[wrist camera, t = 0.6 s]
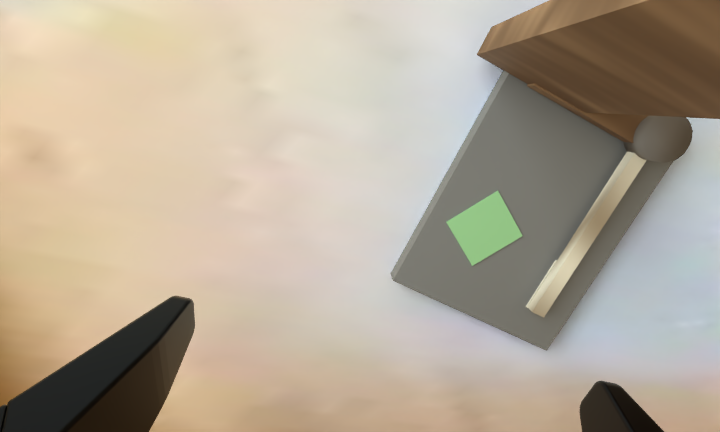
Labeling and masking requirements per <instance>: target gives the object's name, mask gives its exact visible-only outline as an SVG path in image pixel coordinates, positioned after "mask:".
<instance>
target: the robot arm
mask: <svg viewBox="0 0 720 432" xmlns="http://www.w3.org/2000/svg"><path fill="white" fill-rule="evenodd" d="M194 328H195V317H194V303H193V301H192V299H190V298H185V297H180V296H173V297H170V298H169V299H167V300H166V301H164V302H163V303H161V304H159V305H158V306H156V307H155V308H153V309H152V310H150V311H149V312H147V313H145V314H144V315H142V316H141V317H139V318H138V319H136V320H135V321H133V322H131V323H130V324H128V325H127V326H125V327H124V328H122V329H121V330H119V331H117V332H116V333H114V334H113V335H111V336H110V337H108V338H107V339H105V340H103V341H102V342H100V343H99V344H97V345H96V346H94V347H93V348H91V349H90V350H88V351H86V352H85V353H83V354H82V355H80V356H79V357H77V358H76V359H74V360H72V361H71V362H69V363H68V364H66V365H65V366H63V367H62V368H60V369H58V370H57V371H55V372H54V373H52V374H51V375H49V376H48V377H46V378H44V379H43V380H41V381H40V382H38V383H37V384H35V385H34V386H32V387H30V388H29V389H27V390H26V391H24V392H23V393H21V394H20V395H18V396H16V397H15V398H13V399H12V400H10V401H9V402H8V404H7V405H2V406H1V407H0V432H149V430H150V428H151V427H152V425H153V423H154V421H155V419H156V417H157V416H158V414H159V412H160V410H161V408H162V406H163V404H164V402H165V400H166V398H167V396H168V394H169V391H170V389H171V387H172V384H173V382H174V379H175V377H176V374H177V372H178V370H179V367H180V365H181V362H182V360H183V357H184V355H185V353H186V350H187V348H188V345H189V343H190V340H191V338H192V336H193V333H194ZM580 419H581V426H582V432H664V431H663V430H662V429H661V428H660V427H659V426H658V425H657V424H656V423H655V422H654V421H653V420H652V419H651V417H650V416H649V415H648V414H647V413H646V412H645V411H644V410H643V409H642V408H641V407H640V406H639V405H638V404H637V403H636V402H635V401H634V400H633V399H632V398H631V397H630V396H629V394H628V393H627V392H626V391H625V390H624V389H623V388H622V387H621V386H619V385H617V384H614V383H610V382H605V381H598V382H596V383H595V384H594V386H593V387H592V388H591V390H590V391H589V392H588V394H587V395H586V396H585V398H584V399H583V400H582V402H581V405H580Z"/></svg>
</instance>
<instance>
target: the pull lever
mask: <svg viewBox="0 0 720 432" xmlns="http://www.w3.org/2000/svg"><path fill="white" fill-rule="evenodd" d="M477 55H478V56H480V57H482V58H483V59H485V60H487V61H489V62H490V63H492V64H494V65H495V66H497V67H499V68H501V69H502V70H504V71H506V72H508V73H509V74H511V75H513V76H514V77H516V78H518V79H520V80H521V81H523V82H525V83H527V86H528V87H529V88H531V89H533V90H534V91H536V92H538V93H540V94H541V95H543V96H545V97H547V98H548V99H550V100H552V101H554V102H555V103H557V104H559V105H560V106H562V107H564V108H566V109H567V110H569V111H571V112H573V113H574V114H576V115H578V116H580V117H581V118H583V119H585V120H586V121H588V122H590V123H592V124H593V125H595V126H597V127H599V128H600V129H602V130H604V131H606V132H607V133H609V134H611V135H612V136H614V137H616V138H618V139H619V140H621V141H623V144H624V147H625V149H626V151H627V152H626V154H625V155H624V157H623V159H622V160H621V162H620V163H619V165H618V166H617V168H616V170H615V171H614V173H613V174H612V176H611V177H610V179H609V180H608V182H607V184H606V185H605V187H604V188H603V190H602V191H601V193H600V195H599V196H598V198H597V199H596V201H595V202H594V204H593V205H592V207H591V209H590V210H589V212H588V213H587V215H586V216H585V218H584V220H583V221H582V223H581V224H580V226H579V227H578V229H577V230H576V232H575V234H574V235H573V237H572V238H571V240H570V241H569V243H568V245H567V246H566V248H565V249H564V251H563V252H562V254H561V255H560V257H559V259H558V260H557V262H556V263H555V265H554V266H553V268H552V270H551V271H550V273H549V274H548V276H547V277H546V279H545V280H544V282H543V284H542V285H541V287H540V288H539V290H538V291H537V293H536V295H535V296H534V298H533V299H532V301H531V302H530V304H529V305H528V308H529V309H530V310H531V311H532V312H533V313H535V314H537V315H539V316H541V317H545V315H546V314H547V312H548V310H549V309H550V307H551V306H552V304H553V303H554V301H555V300H556V298H557V297H558V295H559V294H560V292H561V291H562V289H563V287H564V286H565V284H566V283H567V281H568V280H569V278H570V277H571V275H572V274H573V272H574V271H575V269H576V268H577V266H578V264H579V263H580V261H581V260H582V258H583V257H584V255H585V254H586V252H587V251H588V249H589V248H590V246H591V245H592V243H593V242H594V240H595V238H596V237H597V235H598V234H599V232H600V231H601V229H602V228H603V226H604V225H605V223H606V222H607V220H608V219H609V217H610V215H611V214H612V212H613V211H614V209H615V208H616V206H617V205H618V203H619V202H620V200H621V199H622V197H623V196H624V194H625V192H626V191H627V189H628V188H629V186H630V185H631V183H632V182H633V180H634V179H635V177H636V176H637V174H638V173H639V171H640V170H641V168H642V166H643V165H644V163H645V162H646V160H650V161H655V162H661V163H667V162H671V161H674V160H676V159H678V158H679V157H680V156H682V155H683V154H684V153H685V151H686V150H687V149H688V147H689V145H690V142H691V139H692V127H691V124H690V122H689V121H688V119H687V118H686V117H692V118H714V119H720V0H549V1H547V2H545V3H543V4H541V5H539V6H536V7H534V8H532V9H530V10H528V11H526V12H523V13H521V14H519V15H517V16H515V17H513V18H510V19H508V20H506V21H504V22H502V23H500V24H497V25H495V26H493V27H491V29H490V31H489V33H488V35H487V37H486V38H485V40H484V42H483V44H482V46H481V48H480V50H479V52H478V53H477Z"/></svg>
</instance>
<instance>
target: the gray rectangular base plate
mask: <svg viewBox="0 0 720 432" xmlns="http://www.w3.org/2000/svg"><path fill="white" fill-rule="evenodd" d="M692 132H693V131H692ZM626 152H627V151H626V149H625V147H624V144H623V141H621V140H619V139H618V138H616V137H614V136H612V135H611V134H609V133H607V132H606V131H604V130H602V129H600V128H599V127H597V126H595V125H593V124H592V123H590V122H588V121H586V120H585V119H583V118H581V117H580V116H578V115H576V114H574V113H573V112H571V111H569V110H567V109H566V108H564V107H562V106H560V105H559V104H557V103H555V102H554V101H552V100H550V99H548V98H547V97H545V96H543V95H541V94H540V93H538V92H536V91H534V90H533V89H531V88H529V87H528V86H527V83H525V82H523V81H521V80H520V79H518V78H516V77H514V76H513V75H511V74H509V73H508V72H506V71H504V70H503V72H502V74H501V76H500V78H499V79H498V81H497V83H496V85H495V87H494V88H493V90H492V92H491V94H490V96H489V98H488V99H487V101H486V103H485V105H484V107H483V108H482V110H481V112H480V114H479V116H478V117H477V119H476V121H475V123H474V125H473V126H472V128H471V130H470V132H469V134H468V135H467V137H466V139H465V141H464V143H463V144H462V146H461V148H460V150H459V152H458V153H457V155H456V157H455V159H454V161H453V162H452V164H451V166H450V168H449V170H448V171H447V173H446V175H445V177H444V179H443V180H442V182H441V184H440V186H439V188H438V189H437V191H436V193H435V195H434V197H433V199H432V200H431V202H430V204H429V206H428V208H427V209H426V211H425V213H424V215H423V217H422V218H421V220H420V222H419V224H418V226H417V227H416V229H415V231H414V233H413V235H412V236H411V238H410V240H409V242H408V244H407V245H406V247H405V249H404V251H403V253H402V254H401V256H400V258H399V260H398V262H397V263H396V265H395V267H394V269H393V271H392V272H391V276H392V279H393V281H395V282H397V283H400V284H402V285H404V286H406V287H408V288H411V289H413V290H415V291H417V292H419V293H422V294H424V295H426V296H428V297H430V298H433V299H435V300H437V301H439V302H441V303H444V304H446V305H448V306H450V307H452V308H454V309H457V310H459V311H461V312H463V313H465V314H468V315H470V316H472V317H474V318H476V319H479V320H481V321H483V322H485V323H487V324H490V325H492V326H494V327H496V328H498V329H501V330H503V331H505V332H507V333H509V334H511V335H514V336H516V337H518V338H520V339H522V340H525V341H527V342H529V343H531V344H533V345H536V346H538V347H540V348H542V349H544V350H547V349H548V348H549V346H550V345H551V343H552V342H553V340H554V339H555V337H556V336H557V334H558V333H559V331H560V330H561V328H562V327H563V325H564V324H565V322H566V321H567V319H568V318H569V316H570V315H571V313H572V312H573V310H574V309H575V307H576V306H577V304H578V303H579V301H580V300H581V298H582V297H583V295H584V294H585V292H586V291H587V289H588V288H589V286H590V285H591V283H592V282H593V280H594V279H595V277H596V276H597V274H598V273H599V271H600V270H601V268H602V267H603V265H604V264H605V262H606V261H607V259H608V258H609V256H610V255H611V253H612V252H613V250H614V249H615V247H616V246H617V244H618V243H619V241H620V240H621V238H622V237H623V235H624V234H625V232H626V231H627V229H628V228H629V226H630V225H631V223H632V222H633V220H634V219H635V217H636V216H637V214H638V213H639V211H640V210H641V208H642V207H643V205H644V204H645V202H646V201H647V199H648V198H649V196H650V195H651V193H652V192H653V190H654V189H655V187H656V186H657V184H658V183H659V181H660V180H661V178H662V177H663V175H664V174H665V172H666V171H667V169H668V168H669V166H670V165H671V163H672V162H673V161H671V162H667V163H661V162H655V161H650V160H646V162H645V163H644V165H643V166H642V168H641V170H640V171H639V173H638V174H637V176H636V177H635V179H634V180H633V182H632V183H631V185H630V186H629V188H628V189H627V191H626V192H625V194H624V196H623V197H622V199H621V200H620V202H619V203H618V205H617V206H616V208H615V209H614V211H613V212H612V214H611V215H610V217H609V219H608V220H607V222H606V223H605V225H604V226H603V228H602V229H601V231H600V232H599V234H598V235H597V237H596V238H595V240H594V242H593V243H592V245H591V246H590V248H589V249H588V251H587V252H586V254H585V255H584V257H583V258H582V260H581V261H580V263H579V264H578V266H577V268H576V269H575V271H574V272H573V274H572V275H571V277H570V278H569V280H568V281H567V283H566V284H565V286H564V287H563V289H562V291H561V292H560V294H559V295H558V297H557V298H556V300H555V301H554V303H553V304H552V306H551V307H550V309H549V310H548V312H547V314H546V315H545V317H541V316H539V315H537V314H535V313H533V312H532V311H531V310H530V309H529V308H528V305H529V304H530V302H531V301H532V299H533V298H534V296H535V295H536V293H537V291H538V290H539V288H540V287H541V285H542V284H543V282H544V280H545V279H546V277H547V276H548V274H549V273H550V271H551V270H552V268H553V266H554V265H555V263H556V262H557V260H558V259H559V257H560V255H561V254H562V252H563V251H564V249H565V248H566V246H567V245H568V243H569V241H570V240H571V238H572V237H573V235H574V234H575V232H576V230H577V229H578V227H579V226H580V224H581V223H582V221H583V220H584V218H585V216H586V215H587V213H588V212H589V210H590V209H591V207H592V205H593V204H594V202H595V201H596V199H597V198H598V196H599V195H600V193H601V191H602V190H603V188H604V187H605V185H606V184H607V182H608V180H609V179H610V177H611V176H612V174H613V173H614V171H615V170H616V168H617V166H618V165H619V163H620V162H621V160H622V159H623V157H624V155H625V154H626Z"/></svg>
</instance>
